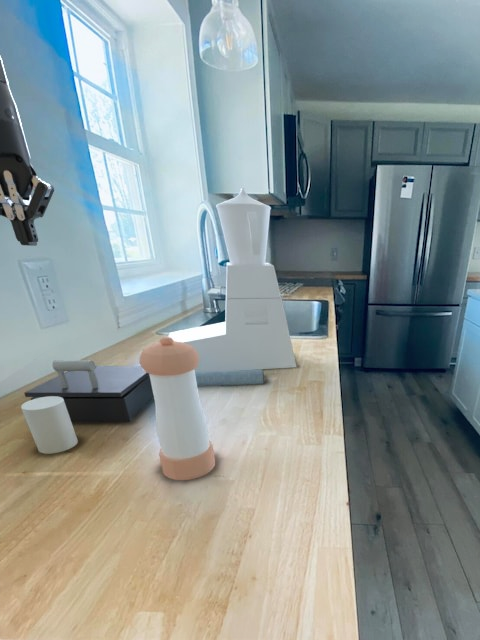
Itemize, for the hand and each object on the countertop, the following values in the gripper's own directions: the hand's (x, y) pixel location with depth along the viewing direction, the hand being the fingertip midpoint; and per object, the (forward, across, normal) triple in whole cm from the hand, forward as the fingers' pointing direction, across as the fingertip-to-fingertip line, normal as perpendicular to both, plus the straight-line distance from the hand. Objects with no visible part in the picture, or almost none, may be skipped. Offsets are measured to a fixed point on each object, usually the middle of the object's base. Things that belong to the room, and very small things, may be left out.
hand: (29, 245), depth 65 cm
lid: (+23, -10, +8) cm, 26 cm away
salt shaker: (+28, -32, +29) cm, 52 cm away
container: (+28, -10, +23) cm, 38 cm away
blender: (+28, -29, -23) cm, 46 cm away
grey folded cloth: (+28, -28, -7) cm, 40 cm away
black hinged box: (+28, -10, +7) cm, 31 cm away
